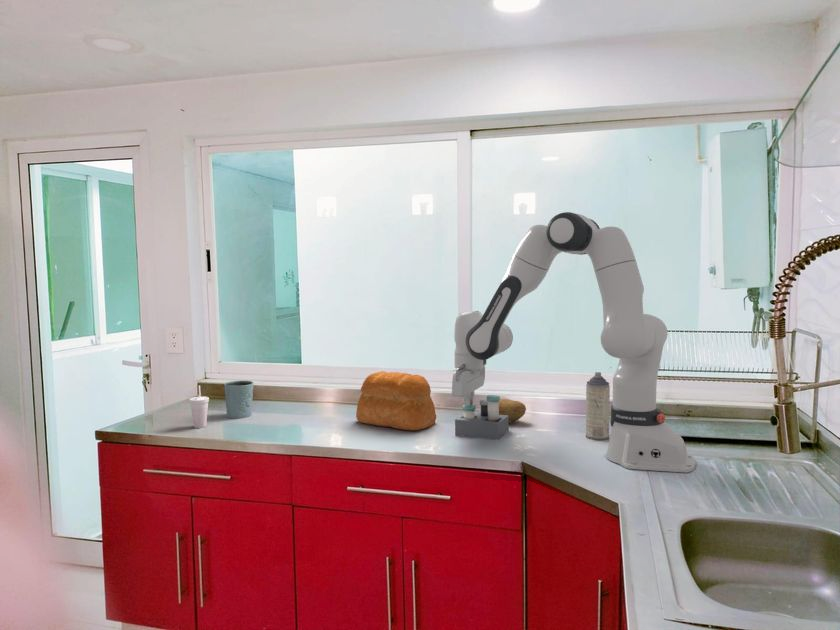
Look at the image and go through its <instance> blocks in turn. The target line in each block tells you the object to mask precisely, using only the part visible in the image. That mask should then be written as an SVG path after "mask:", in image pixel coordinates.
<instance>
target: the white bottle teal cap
mask: <svg viewBox="0 0 840 630" xmlns="http://www.w3.org/2000/svg"><path fill="white" fill-rule="evenodd" d="M500 397H501V396H499V395H495V394H494V395H493V394H492V395H490V394H489V395H487V396H486V399H487V401H488V420H490V421H497V420H499V401H500Z"/></svg>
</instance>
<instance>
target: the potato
mask: <svg viewBox="0 0 840 630" xmlns="http://www.w3.org/2000/svg"><path fill="white" fill-rule="evenodd" d="M526 410H527V407H526V405H525V403H523V402H521V401H518V400H512V399H508V398H500V401H499V415H509V423H515V422H517V421H520V419H521V418H523V417H524V415H525V414H526Z"/></svg>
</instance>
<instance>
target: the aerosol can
mask: <svg viewBox="0 0 840 630" xmlns="http://www.w3.org/2000/svg"><path fill="white" fill-rule="evenodd" d="M585 388H586V389H585V390H586V392H585V395H586V396H585V402H586V403H585V437H586V439H589V440H592V441H607V440H610V396H611V395H610V391H611V389H610V388H611V387H610V382H608V381H607V379H606V378H604V377H603V376H602V372H600V371H599V372H598V371H595V372H594V375H593V376H592V377H591V378H590V379H589V380H588V381H586V385H585Z"/></svg>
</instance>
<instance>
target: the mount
mask: <svg viewBox="0 0 840 630" xmlns="http://www.w3.org/2000/svg"><path fill="white" fill-rule="evenodd" d="M478 404H479V405H480V412H477V411H474V419H465V418H464V413H462V414H461V415H459V416H458V417H457V418H455V419H454V434H455V435H454V436H461V437H469V438H475V439H476V438H478V439H484V438H485V439H487V440H493V441H499V440H500V439H501V438H502V437H504V436H505V435H506V434H507V433H508V432H509V431H510V429H509V428H510V427H509V426H510V425H509V423H510V422H509V415H499V420H497V421H490V420H488V401H487V398H485V399H480V400H479V403H478ZM485 439H484V440H485Z"/></svg>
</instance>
